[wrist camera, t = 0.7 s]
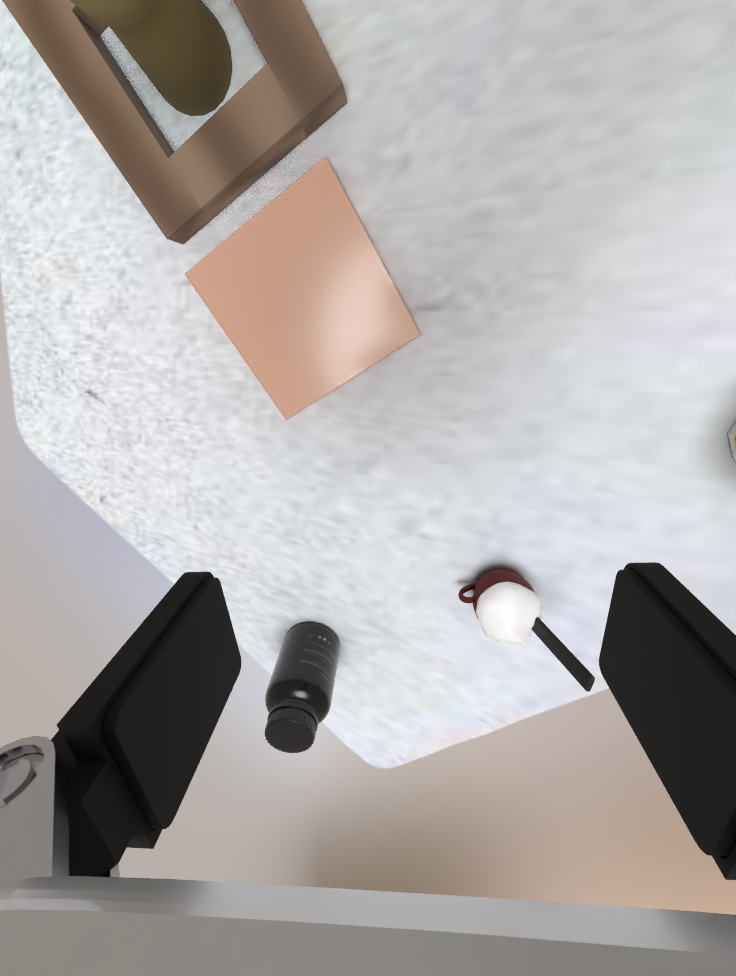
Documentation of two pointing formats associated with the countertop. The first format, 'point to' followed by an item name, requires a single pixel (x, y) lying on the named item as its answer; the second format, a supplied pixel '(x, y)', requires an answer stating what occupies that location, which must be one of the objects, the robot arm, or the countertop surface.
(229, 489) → the countertop surface
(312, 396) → the terracotta tile
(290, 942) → the robot arm
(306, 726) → the supplement bottle
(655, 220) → the countertop surface
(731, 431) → the ceramic cup
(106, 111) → the frame
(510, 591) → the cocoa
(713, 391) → the countertop surface
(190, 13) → the olive tall flared piece
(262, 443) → the countertop surface
